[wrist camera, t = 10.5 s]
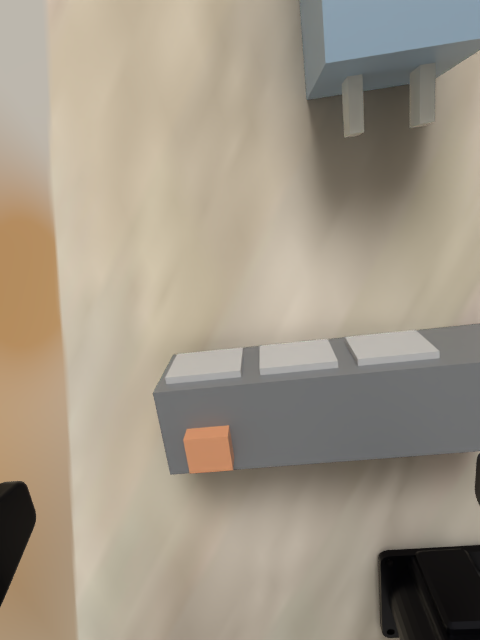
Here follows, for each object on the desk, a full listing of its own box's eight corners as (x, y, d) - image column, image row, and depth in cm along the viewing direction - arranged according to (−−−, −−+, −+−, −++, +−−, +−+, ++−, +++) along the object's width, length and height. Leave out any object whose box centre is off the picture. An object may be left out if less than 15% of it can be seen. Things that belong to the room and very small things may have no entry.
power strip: (479, 398, 20) (544, 459, 15) (186, 423, 21) (166, 487, 17) (484, 317, 19) (556, 357, 14) (172, 349, 20) (146, 396, 15)
